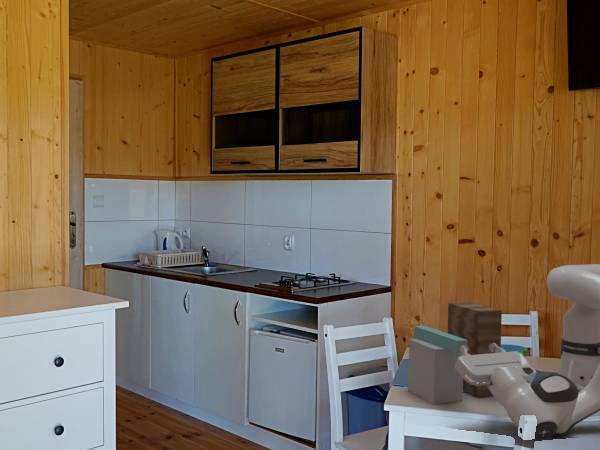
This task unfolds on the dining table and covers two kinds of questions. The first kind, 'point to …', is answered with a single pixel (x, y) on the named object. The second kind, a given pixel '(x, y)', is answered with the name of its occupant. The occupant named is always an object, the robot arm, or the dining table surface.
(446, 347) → the batten
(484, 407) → the dining table surface
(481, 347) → the walnut stand
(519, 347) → the snack cup
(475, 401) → the dining table surface
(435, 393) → the base block
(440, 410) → the dining table surface
